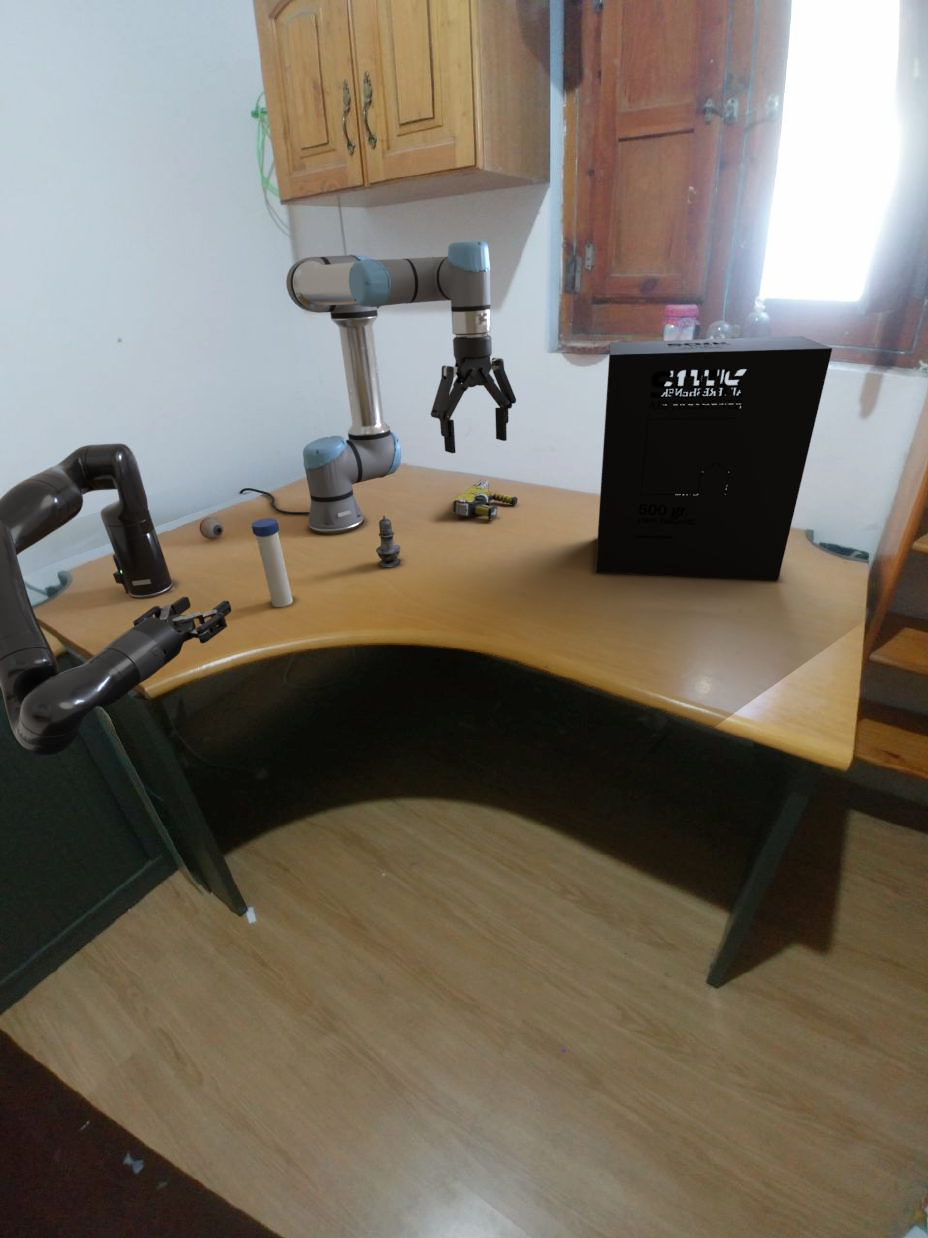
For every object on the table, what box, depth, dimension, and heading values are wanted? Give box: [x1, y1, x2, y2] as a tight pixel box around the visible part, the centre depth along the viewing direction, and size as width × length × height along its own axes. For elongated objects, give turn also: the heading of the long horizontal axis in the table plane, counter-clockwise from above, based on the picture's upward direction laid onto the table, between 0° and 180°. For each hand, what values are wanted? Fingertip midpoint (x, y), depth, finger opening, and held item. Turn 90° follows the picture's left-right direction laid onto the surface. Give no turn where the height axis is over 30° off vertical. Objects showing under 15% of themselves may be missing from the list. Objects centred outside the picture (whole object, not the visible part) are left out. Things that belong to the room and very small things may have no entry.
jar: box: [255, 531, 294, 608], centre depth 126 cm, size 4×4×18 cm
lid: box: [251, 517, 280, 537], centre depth 122 cm, size 5×5×2 cm
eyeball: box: [198, 516, 224, 541], centre depth 163 cm, size 6×6×6 cm
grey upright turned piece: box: [375, 515, 402, 568], centre depth 142 cm, size 6×6×12 cm
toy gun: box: [452, 479, 518, 521], centre depth 175 cm, size 5×24×15 cm
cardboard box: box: [595, 335, 833, 581], centre depth 128 cm, size 38×20×45 cm, turn 78°
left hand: (208, 603), depth 106 cm, fingers open, 8 cm apart
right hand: (476, 445), depth 127 cm, fingers open, 13 cm apart
